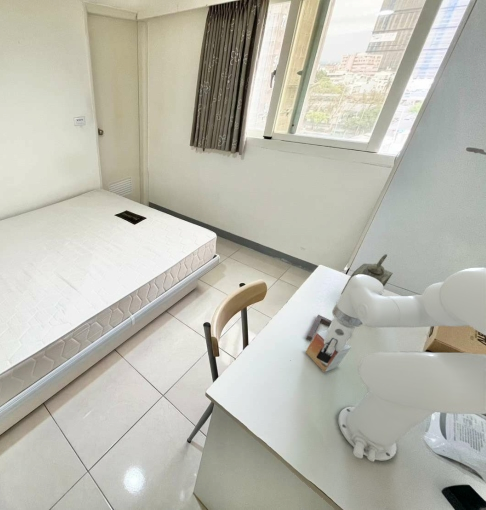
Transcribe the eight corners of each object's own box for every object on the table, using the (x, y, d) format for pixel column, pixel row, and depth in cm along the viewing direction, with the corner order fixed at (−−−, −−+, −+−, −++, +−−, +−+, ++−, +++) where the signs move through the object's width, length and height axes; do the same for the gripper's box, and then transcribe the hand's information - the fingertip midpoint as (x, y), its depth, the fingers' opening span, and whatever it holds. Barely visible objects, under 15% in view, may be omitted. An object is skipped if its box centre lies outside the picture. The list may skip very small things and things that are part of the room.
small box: (304, 352, 92) (316, 332, 86) (317, 348, 94) (329, 327, 88) (324, 372, 86) (338, 352, 80) (337, 367, 88) (351, 347, 82)
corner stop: (341, 357, 91) (343, 353, 90) (305, 338, 97) (307, 335, 96) (349, 333, 99) (351, 330, 98) (316, 318, 105) (318, 314, 104)
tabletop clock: (357, 319, 105) (391, 268, 91) (333, 305, 111) (361, 255, 97) (372, 303, 112) (405, 254, 98) (349, 291, 118) (377, 243, 104)
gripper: (358, 339, 70) (331, 377, 80) (369, 304, 81) (344, 341, 91) (326, 324, 74) (304, 362, 84) (340, 292, 85) (320, 329, 95)
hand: (325, 351), depth 88 cm, fingers closed on small box, 8 cm apart
